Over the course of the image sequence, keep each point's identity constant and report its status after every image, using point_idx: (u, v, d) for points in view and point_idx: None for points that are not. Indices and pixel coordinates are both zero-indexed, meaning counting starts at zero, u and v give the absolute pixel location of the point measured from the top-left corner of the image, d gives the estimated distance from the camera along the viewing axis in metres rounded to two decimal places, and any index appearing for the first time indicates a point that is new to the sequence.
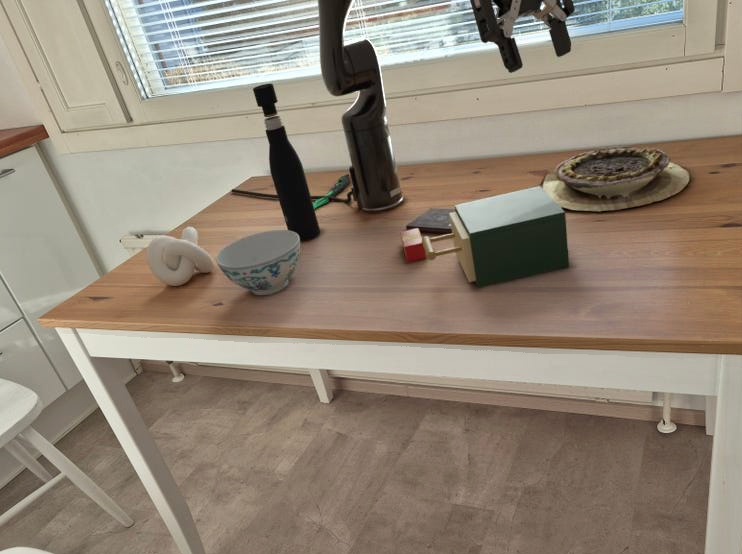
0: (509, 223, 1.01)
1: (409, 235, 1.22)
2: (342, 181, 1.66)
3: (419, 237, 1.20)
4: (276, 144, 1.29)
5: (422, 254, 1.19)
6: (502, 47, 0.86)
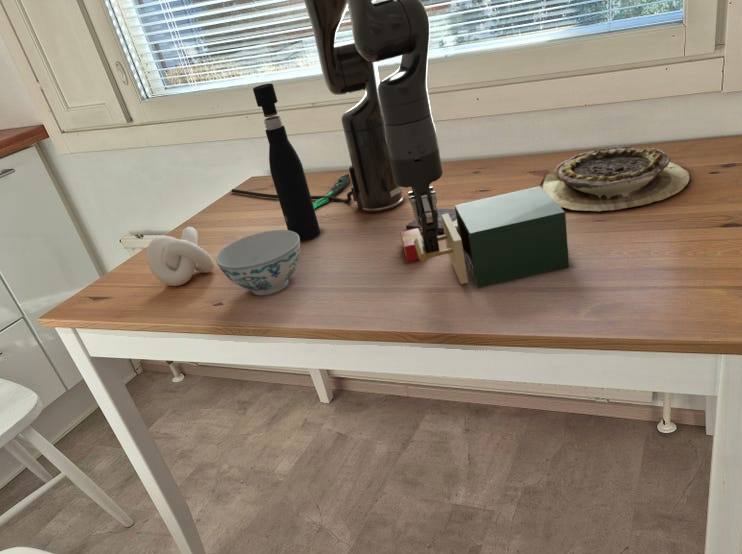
0: (509, 223, 1.01)
1: (409, 235, 1.22)
2: (342, 181, 1.66)
3: (419, 237, 1.20)
4: (276, 144, 1.30)
5: None
6: (429, 240, 1.07)
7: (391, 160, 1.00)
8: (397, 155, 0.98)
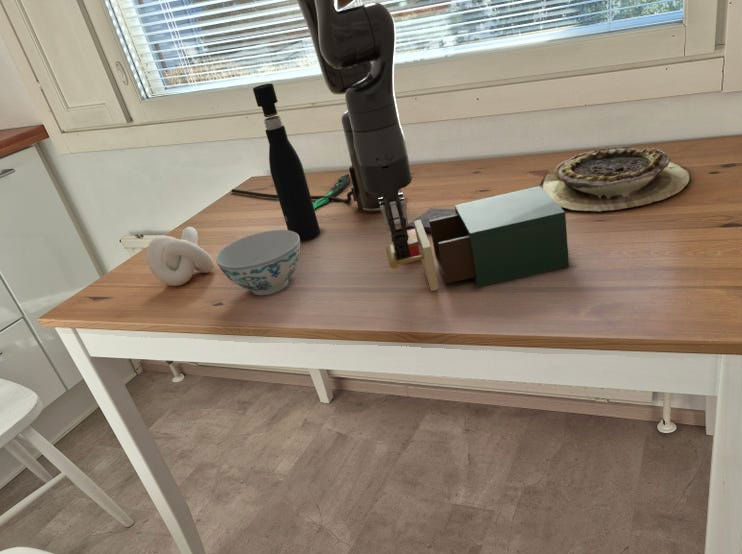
0: (509, 223, 1.01)
1: (409, 235, 1.22)
2: (342, 181, 1.66)
3: None
4: (276, 144, 1.30)
5: None
6: (400, 246, 1.07)
7: (360, 166, 1.00)
8: (365, 162, 0.98)
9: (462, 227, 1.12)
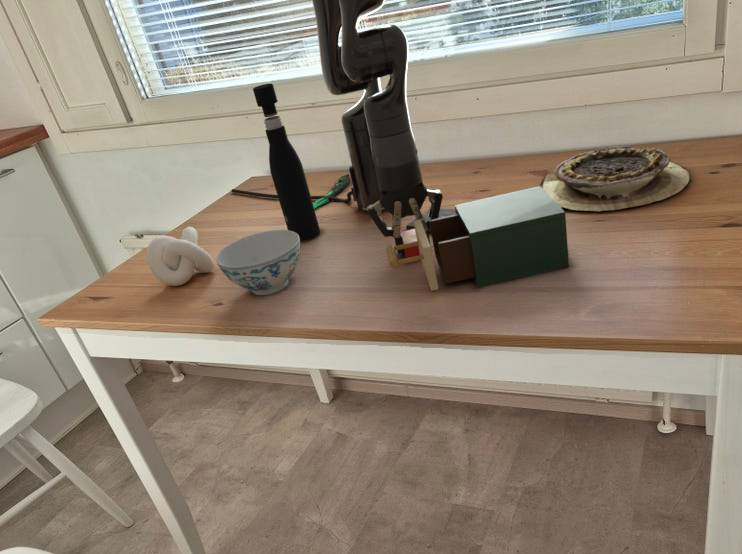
0: (509, 223, 1.01)
1: (409, 235, 1.22)
2: (342, 181, 1.66)
3: None
4: (276, 144, 1.30)
5: None
6: None
7: None
8: None
9: (462, 227, 1.12)
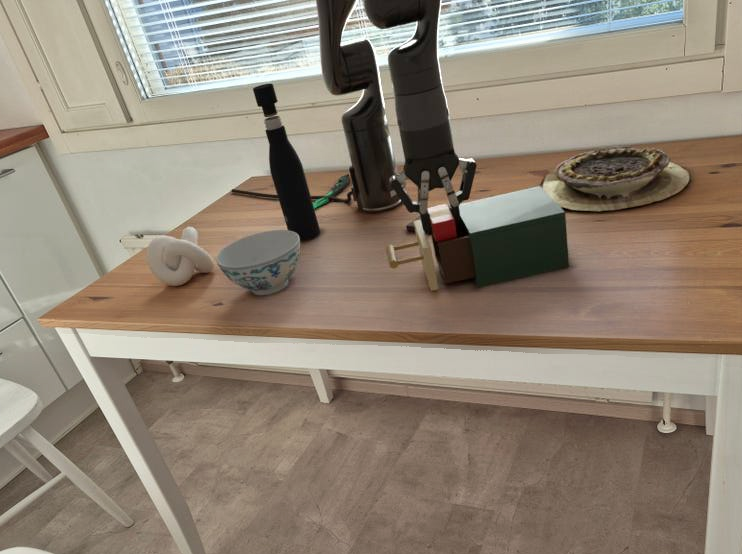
0: (509, 223, 1.01)
1: (436, 211, 1.07)
2: (342, 181, 1.66)
3: (449, 213, 1.05)
4: (276, 144, 1.30)
5: (452, 232, 1.04)
6: None
7: None
8: None
9: (462, 227, 1.12)
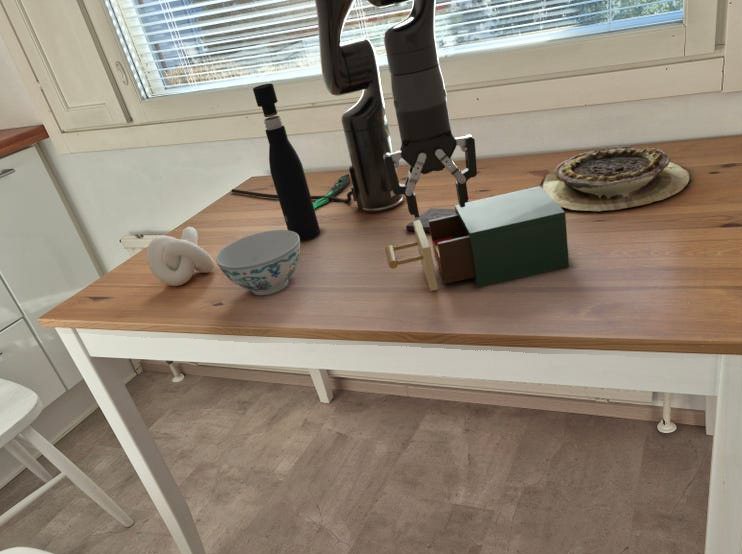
0: (509, 223, 1.01)
1: None
2: (342, 181, 1.66)
3: None
4: (276, 144, 1.30)
5: None
6: None
7: None
8: None
9: (461, 227, 1.12)
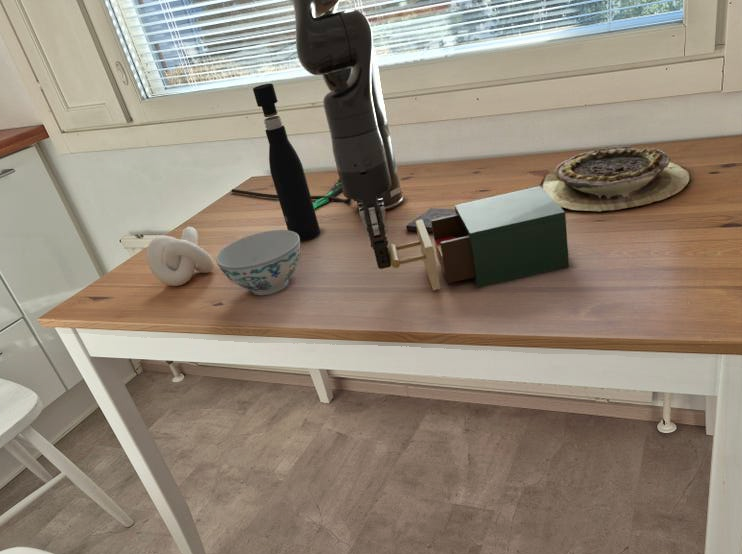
0: (509, 223, 1.01)
1: None
2: None
3: None
4: (276, 144, 1.30)
5: None
6: (380, 251, 1.07)
7: (339, 172, 1.00)
8: (343, 168, 0.98)
9: (464, 227, 1.12)
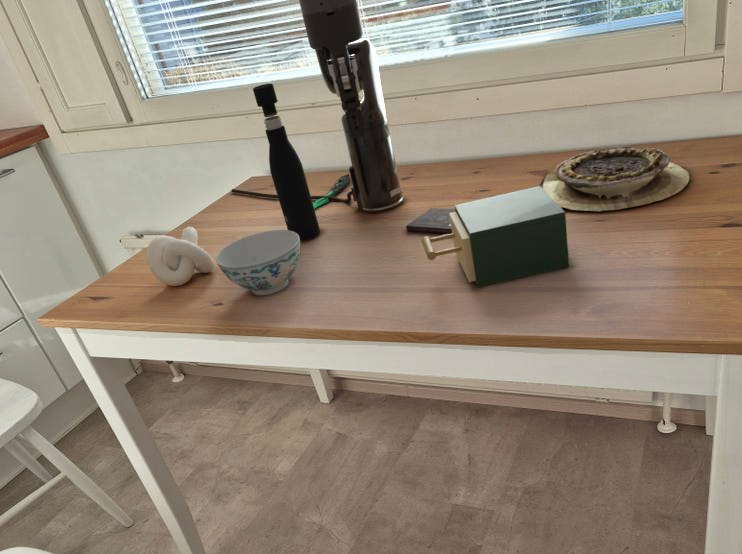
0: (509, 223, 1.01)
1: None
2: (342, 181, 1.66)
3: None
4: (276, 144, 1.30)
5: None
6: (352, 115, 0.96)
7: (304, 16, 0.89)
8: (308, 8, 0.87)
9: None
